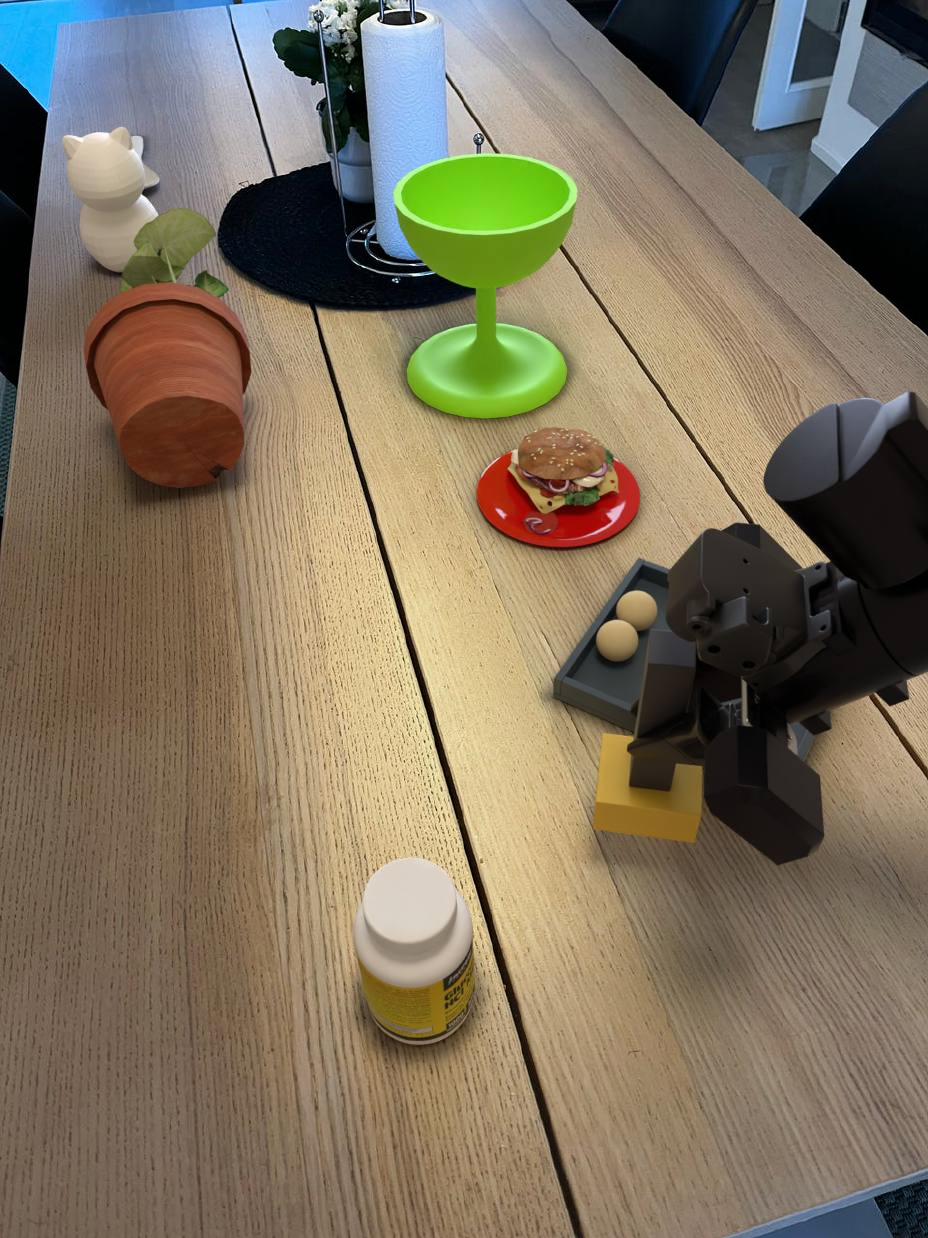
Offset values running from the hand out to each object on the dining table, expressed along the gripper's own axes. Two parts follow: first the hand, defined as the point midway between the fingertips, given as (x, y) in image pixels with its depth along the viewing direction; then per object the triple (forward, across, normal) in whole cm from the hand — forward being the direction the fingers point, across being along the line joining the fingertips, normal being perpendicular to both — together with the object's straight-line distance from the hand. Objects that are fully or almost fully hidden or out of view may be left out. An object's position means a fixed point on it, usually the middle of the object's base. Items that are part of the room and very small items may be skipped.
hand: (633, 733), depth 58 cm
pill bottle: (+15, +12, 0) cm, 19 cm away
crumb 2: (+7, -15, +5) cm, 17 cm away
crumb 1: (+6, -18, +6) cm, 20 cm away
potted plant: (+40, -42, -25) cm, 63 cm away
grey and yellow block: (+4, 0, +6) cm, 7 cm away
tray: (+4, -14, +11) cm, 18 cm away
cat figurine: (+51, -68, -37) cm, 93 cm away
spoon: (+57, -93, -43) cm, 117 cm away
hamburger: (+13, -33, +2) cm, 35 cm away
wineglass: (+19, -51, -4) cm, 54 cm away
